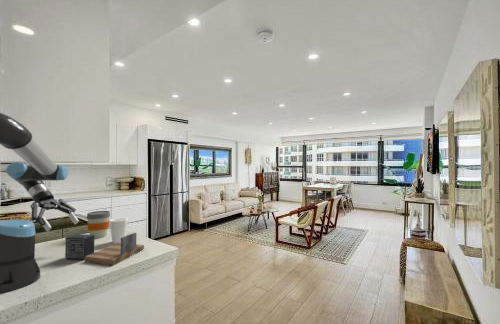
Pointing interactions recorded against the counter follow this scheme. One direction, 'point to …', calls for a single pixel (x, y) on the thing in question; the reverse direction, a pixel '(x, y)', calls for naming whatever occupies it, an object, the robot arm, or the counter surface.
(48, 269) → the counter surface
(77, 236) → the small box
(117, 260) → the wooden base with plate
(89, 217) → the reusable coffee cup
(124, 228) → the foam cup
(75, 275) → the counter surface
